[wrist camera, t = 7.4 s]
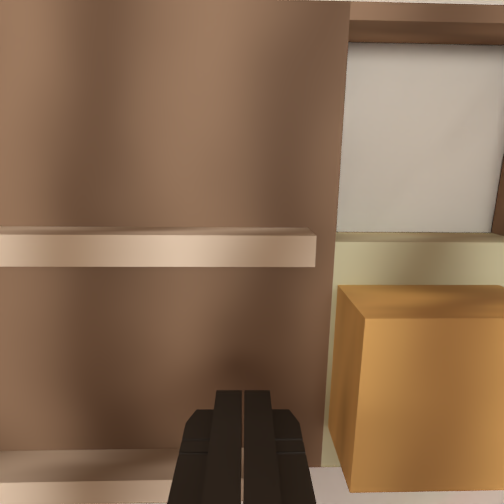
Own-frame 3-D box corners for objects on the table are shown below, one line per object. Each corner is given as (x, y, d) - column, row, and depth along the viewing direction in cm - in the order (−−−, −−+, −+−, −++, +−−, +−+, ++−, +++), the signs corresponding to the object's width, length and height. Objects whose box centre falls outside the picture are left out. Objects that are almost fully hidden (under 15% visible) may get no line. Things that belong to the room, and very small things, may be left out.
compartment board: (551, 30, 13) (658, -16, 10) (479, 430, 17) (538, 495, 14) (-126, 15, 12) (-263, -41, 9) (-40, 437, 16) (-113, 507, 13)
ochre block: (499, 285, 13) (571, 318, 10) (474, 425, 15) (532, 489, 12) (337, 284, 13) (365, 318, 10) (327, 427, 15) (349, 492, 12)
